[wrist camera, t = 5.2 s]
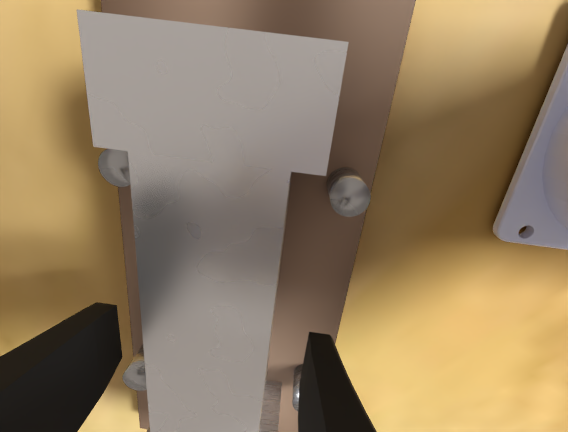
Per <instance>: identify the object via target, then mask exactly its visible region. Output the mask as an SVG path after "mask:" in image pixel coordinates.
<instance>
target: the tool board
mask: <svg viewBox="0 0 568 432" xmlns="http://www.w3.org/2000/svg"><path fill="white" fill-rule="evenodd" d="M415 1H416V0H101V6H102V13H110V14H118V15H127V16H135V17H144V18H152V19H160V20H169V21H177V22H186V23H194V24H202V25H211V26H219V27H227V28H236V29H244V30H253V31H261V32H269V33H278V34H286V35H295V36H303V37H311V38H320V39H328V40H336V41H345V42H349V43H348V49H347V55H346V61H345V66H344V72H343V78H342V84H341V90H340V96H339V102H338V108H337V114H336V120H335V126H334V132H333V137H332V143H331V149H330V155H329V161H328V167H327V173H326V176H321V175H313V174H306V173H298V172H292V177H291V185H290V193H289V201H288V209H287V217H286V225H285V232H284V240H283V248H282V256H281V264H280V272H279V280H278V288H277V296H276V304H275V312H274V320H273V328H272V336H271V344H270V352H269V360H268V368H267V376H266V381H273V382H280V383H282V388H281V400H280V413H279V426H278V432H298V404H299V384H300V377H301V372H302V367H303V361H304V356H305V351H306V345H307V340H308V335H309V332H315V333H322V334H330V335H331V337H332V338H333V341H334V343H335V342H336V338H337V334H338V329H339V325H340V321H341V317H342V312H343V308H344V304H345V299H346V295H347V291H348V287H349V282H350V278H351V274H352V270H353V265H354V261H355V257H356V253H357V248H358V244H359V240H360V236H361V231H362V227H363V223H364V219H365V214H366V210H367V207H368V205H369V203H370V199H371V195H370V193H371V189H372V185H373V180H374V176H375V172H376V167H377V163H378V159H379V155H380V150H381V146H382V142H383V138H384V133H385V129H386V125H387V121H388V116H389V112H390V108H391V104H392V99H393V95H394V91H395V87H396V82H397V78H398V74H399V70H400V65H401V61H402V57H403V53H404V48H405V44H406V40H407V35H408V31H409V27H410V23H411V18H412V14H413V10H414V6H415ZM98 166H99V170H100V173H101V174H102V176H103V177H104V179H105V180H106V181H108V182H109V183H110V184H112V185H114V186H118V192H119V203H120V214H121V225H122V236H123V246H124V257H125V268H126V279H127V290H128V301H129V312H130V323H131V334H132V345H133V356H134V358H133V360H132V362H131V363H130V365H129V366H128V368H127V369H126V371H125V372H124V374H123V381H124V383H125V384H126V385H127V386H128V387H129V388H131V389H133V390H137V399H138V410H139V421H140V428H143V429H148V428H149V425H150V423H149V411H148V398H147V386H146V373H145V360H144V348H143V335H142V323H141V310H140V298H139V285H138V272H137V260H136V247H135V235H134V222H133V210H132V197H131V184H130V172H129V159H128V151H123V150H115V149H106V150H105V151H103V152H102V153H101V155H100V157H99V160H98Z"/></svg>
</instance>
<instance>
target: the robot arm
mask: <svg viewBox="0 0 568 432" xmlns="http://www.w3.org/2000/svg"><path fill="white" fill-rule="evenodd" d="M524 226H527V227H526V230H525V231H524V232H522V233H520V234H518V233H519V230H520V229H521V228H522V227H524ZM493 232H494V234H495V235H496V236H497V237H498V238H499V239H501V240H503V241H506V242H512V243H520V244H527V245H535V246H542V247H550V248H558V249H565V250H568V45H567V47H566V49H565V52H564V54H563V57H562V59H561V62H560V64H559V67H558V69H557V71H556V74H555V76H554V79H553V81H552V84H551V86H550V88H549V91H548V93H547V96H546V98H545V101H544V103H543V105H542V108H541V110H540V113H539V115H538V118H537V120H536V122H535V125H534V127H533V130H532V132H531V135H530V137H529V140H528V142H527V144H526V147H525V149H524V152H523V154H522V157H521V159H520V161H519V164H518V166H517V169H516V171H515V174H514V176H513V178H512V181H511V183H510V186H509V188H508V191H507V193H506V195H505V198H504V200H503V203H502V205H501V208H500V210H499V212H498V215H497V217H496V220H495V222H494V225H493ZM121 359H122V350H121V341H120V332H119V323H118V314H117V305H111V304H103V303H95V304H93V305H91V306H89V307H87V308H85V309H83V310H82V311H80V312H78V313H76V314H75V315H73V316H71V317H69V318H68V319H66V320H64V321H62V322H61V323H59V324H57V325H55V326H54V327H52V328H50V329H49V330H47V331H45V332H43V333H42V334H40V335H38V336H36V337H34V338H33V339H31V340H29V341H27V342H26V343H24V344H22V345H20V346H19V347H17V348H15V349H13V350H12V351H10V352H8V353H6V354H4V355H2V356H0V432H77V431H78V430H79V428H80V427H81V425H82V424H83V423H84V421H85V420H86V418H87V417H88V415H89V414H90V412H91V411H92V409H93V408H94V406H95V405H96V403H97V402H98V400H99V399H100V397H101V396H102V394H103V393H104V391H105V389H106V387H107V385H108V384H109V382H110V380H111V378H112V376H113V374H114V372H115V370H116V368H117V366H118V364H119V362H120V361H121ZM298 432H376V430H375V428H374V426H373V424H372V422H371V421H370V419H369V417H368V415H367V413H366V411H365V409H364V407H363V405H362V403H361V401H360V399H359V397H358V395H357V393H356V391H355V389H354V387H353V385H352V383H351V381H350V379H349V377H348V374H347V372H346V370H345V368H344V366H343V363H342V361H341V359H340V356H339V354H338V351H337V349H336V346H335V343H334V341H333V338H332V337H331V335H330V334H322V333H315V332H309V335H308V340H307V345H306V351H305V356H304V361H303V367H302V372H301V377H300V384H299V404H298Z"/></svg>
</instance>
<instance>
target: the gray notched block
mask: <svg viewBox="0 0 568 432" xmlns="http://www.w3.org/2000/svg"><path fill="white" fill-rule="evenodd" d="M77 17H78V25H79V33H80V41H81V50H82V58H83V66H84V74H85V83H86V91H87V99H88V107H89V116H90V124H91V132H92V140H93V147H99V148H107V149H115V150H123V151H128V159H129V172H130V184H131V197H132V210H133V222H134V235H135V247H136V260H137V272H138V285H139V298H140V310H141V323H142V335H143V348H144V360H145V373H146V386H147V398H148V411H149V423H150V425H149V428H148V430H147V432H278V426H279V413H280V400H281V388H282V383H280V382H273V381H266V376H267V368H268V360H269V352H270V344H271V336H272V328H273V320H274V312H275V304H276V296H277V288H278V280H279V272H280V264H281V256H282V248H283V240H284V232H285V225H286V217H287V209H288V201H289V193H290V185H291V177H292V172H298V173H306V174H313V175H321V176H326V173H327V167H328V161H329V155H330V149H331V143H332V137H333V132H334V126H335V120H336V114H337V108H338V102H339V96H340V90H341V84H342V78H343V72H344V66H345V61H346V55H347V49H348V43H349V42H345V41H336V40H328V39H320V38H311V37H303V36H295V35H286V34H278V33H269V32H261V31H253V30H244V29H236V28H227V27H219V26H211V25H202V24H194V23H186V22H177V21H169V20H160V19H152V18H144V17H135V16H127V15H118V14H110V13H102V12H93V11H85V10H77Z"/></svg>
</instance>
